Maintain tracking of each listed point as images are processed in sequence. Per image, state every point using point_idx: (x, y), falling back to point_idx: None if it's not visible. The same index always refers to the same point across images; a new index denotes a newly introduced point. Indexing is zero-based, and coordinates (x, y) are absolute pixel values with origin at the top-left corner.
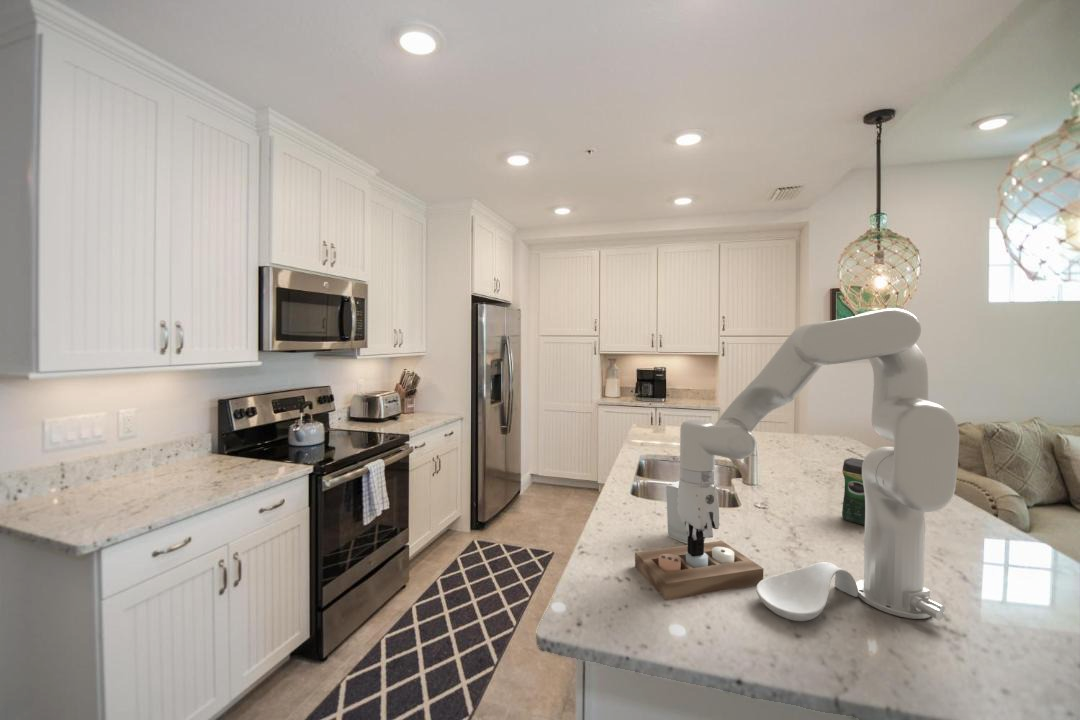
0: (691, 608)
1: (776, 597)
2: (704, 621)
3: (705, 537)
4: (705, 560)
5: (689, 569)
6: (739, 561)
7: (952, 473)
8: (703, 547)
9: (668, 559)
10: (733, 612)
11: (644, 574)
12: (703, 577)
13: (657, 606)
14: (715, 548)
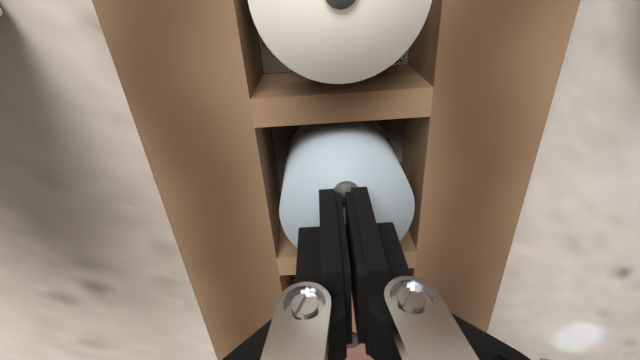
0: (525, 274)
1: None
2: (597, 269)
3: (437, 294)
4: (411, 191)
5: (421, 269)
6: None
7: None
8: (373, 215)
9: (353, 342)
10: (628, 161)
11: None
12: (509, 248)
13: None
14: (276, 26)
